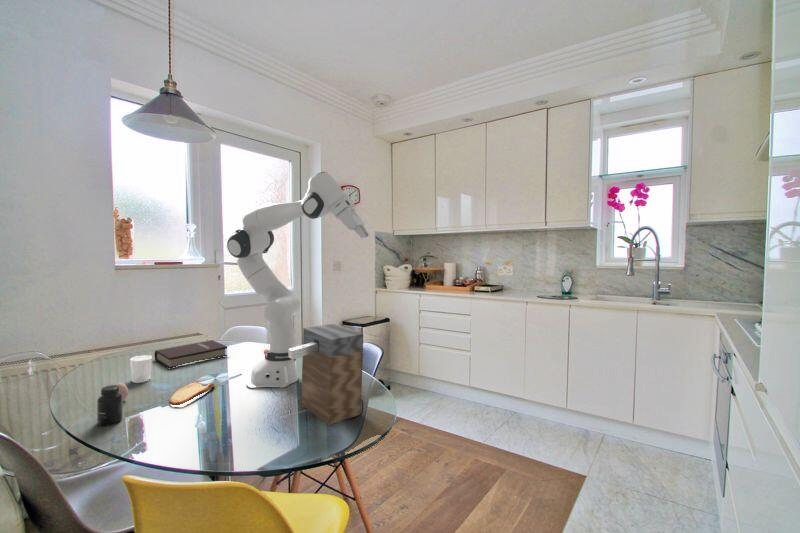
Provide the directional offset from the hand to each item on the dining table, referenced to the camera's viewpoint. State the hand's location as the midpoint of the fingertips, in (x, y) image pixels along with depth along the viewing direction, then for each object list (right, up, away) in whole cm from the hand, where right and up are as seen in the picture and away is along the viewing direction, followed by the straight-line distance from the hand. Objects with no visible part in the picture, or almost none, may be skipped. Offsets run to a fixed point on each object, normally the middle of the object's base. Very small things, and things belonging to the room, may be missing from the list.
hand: (365, 236), depth 139 cm
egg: (-95, -64, 0) cm, 114 cm away
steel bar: (-19, -42, -7) cm, 47 cm away
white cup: (-101, -62, +21) cm, 121 cm away
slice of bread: (-71, -64, +8) cm, 96 cm away
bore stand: (-14, -67, +1) cm, 68 cm away
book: (-97, -60, +52) cm, 126 cm away
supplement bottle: (-86, -65, -15) cm, 109 cm away
